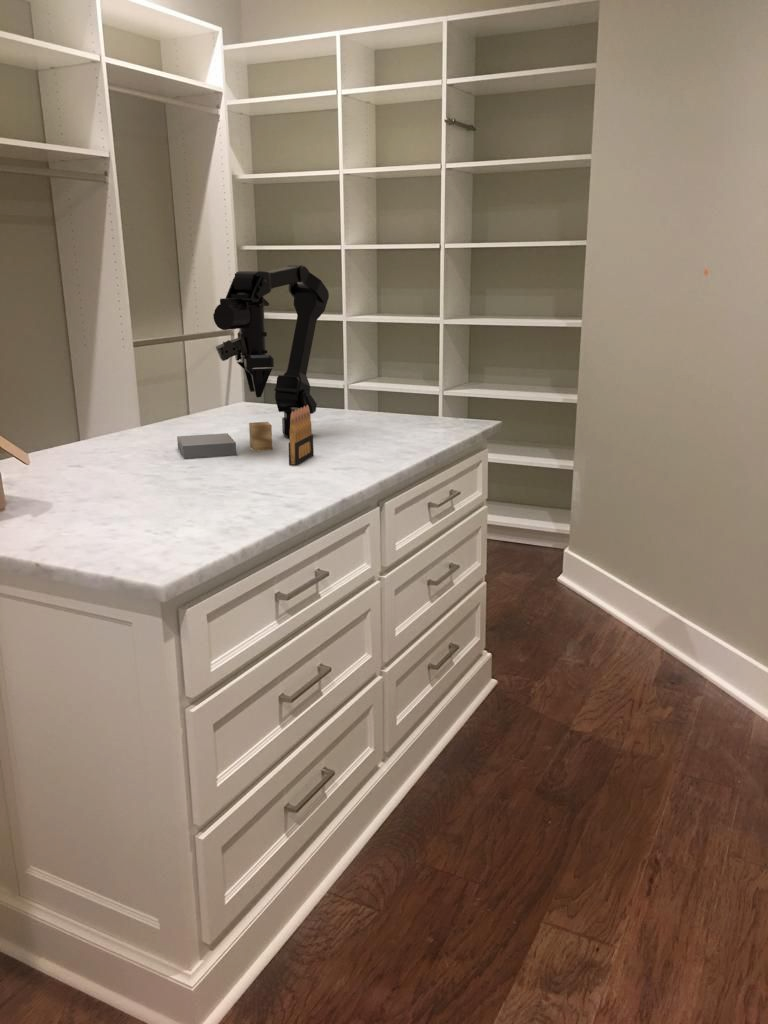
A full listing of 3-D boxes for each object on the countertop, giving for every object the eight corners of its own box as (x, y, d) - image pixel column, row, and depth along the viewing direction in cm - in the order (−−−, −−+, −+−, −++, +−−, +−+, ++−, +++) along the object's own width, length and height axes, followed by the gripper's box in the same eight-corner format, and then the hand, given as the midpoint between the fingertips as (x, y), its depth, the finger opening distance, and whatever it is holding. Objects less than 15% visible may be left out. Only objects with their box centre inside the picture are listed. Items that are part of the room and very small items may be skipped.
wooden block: (268, 446, 206) (267, 421, 205) (272, 449, 202) (271, 424, 200) (250, 447, 205) (249, 422, 203) (253, 451, 201) (252, 426, 199)
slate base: (228, 445, 207) (227, 433, 206) (236, 455, 196) (235, 442, 195) (177, 448, 203) (177, 436, 202) (183, 458, 192) (182, 446, 191)
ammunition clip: (296, 465, 186) (294, 411, 182) (288, 465, 186) (287, 411, 183) (313, 455, 196) (312, 404, 192) (306, 455, 196) (305, 404, 193)
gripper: (212, 325, 202) (216, 390, 206) (222, 331, 185) (226, 402, 189) (258, 324, 205) (261, 388, 210) (272, 329, 188) (275, 399, 192)
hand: (255, 394), depth 200 cm, fingers open, 9 cm apart
